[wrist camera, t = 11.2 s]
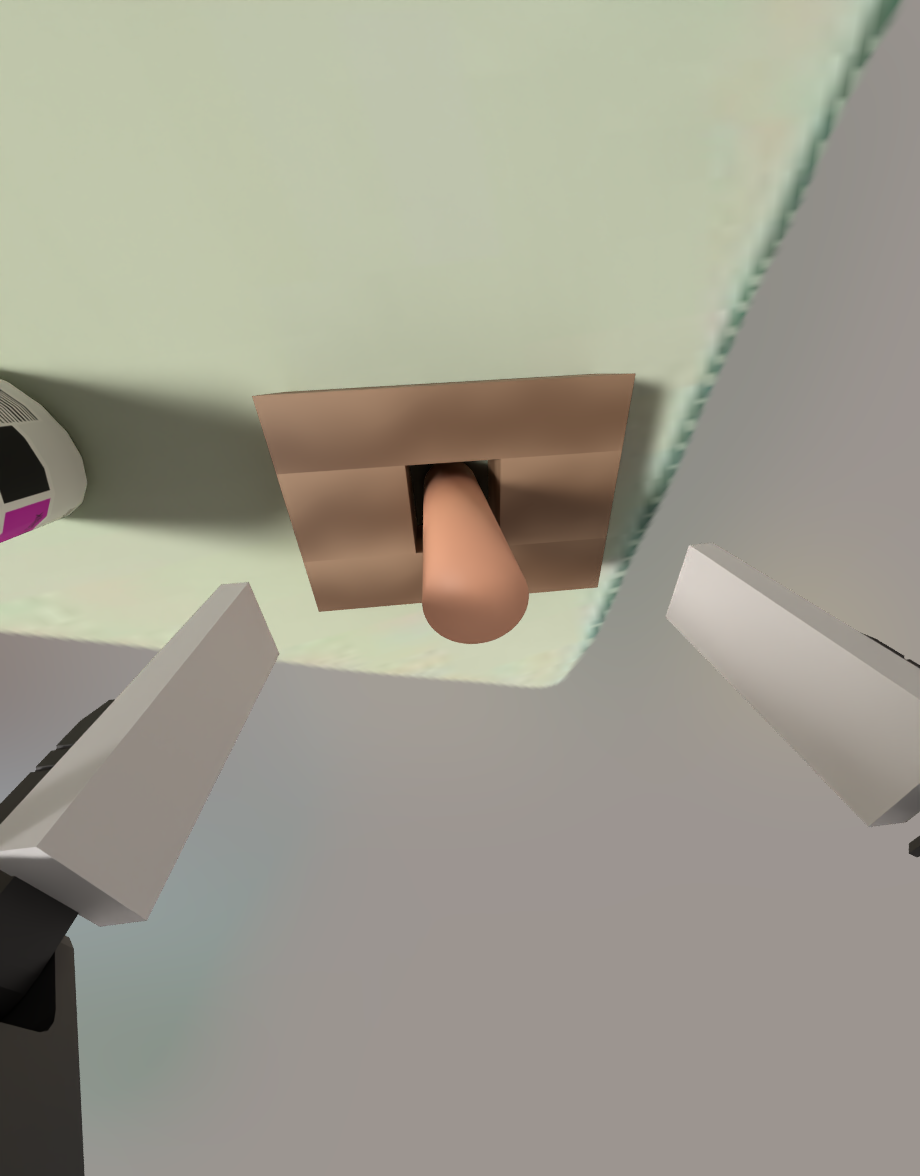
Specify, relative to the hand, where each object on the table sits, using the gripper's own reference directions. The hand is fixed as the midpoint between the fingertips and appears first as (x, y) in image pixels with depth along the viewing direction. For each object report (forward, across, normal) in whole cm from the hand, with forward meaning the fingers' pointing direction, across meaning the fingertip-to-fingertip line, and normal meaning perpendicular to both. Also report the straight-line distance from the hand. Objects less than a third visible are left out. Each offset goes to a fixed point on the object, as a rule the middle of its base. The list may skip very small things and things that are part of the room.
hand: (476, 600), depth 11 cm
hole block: (+14, 0, -1) cm, 14 cm away
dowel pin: (+14, 0, -1) cm, 14 cm away
